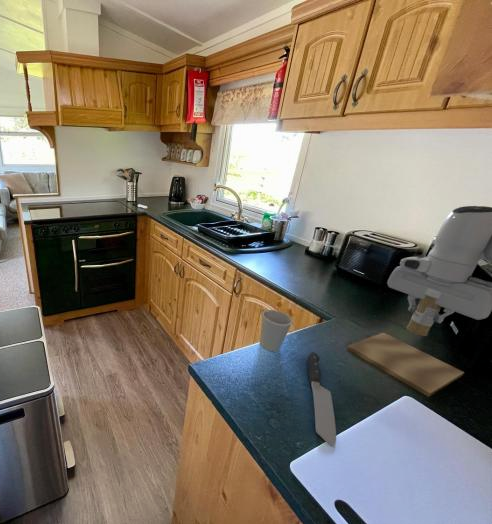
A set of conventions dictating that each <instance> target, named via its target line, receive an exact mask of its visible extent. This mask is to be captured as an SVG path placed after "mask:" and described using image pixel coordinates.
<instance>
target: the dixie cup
mask: <svg viewBox="0 0 492 524" xmlns="http://www.w3.org/2000/svg"><path fill="white" fill-rule="evenodd" d="M293 324H294V320H293V318H292V317H291V316H289V315H288V314H286V313H285V312H282V311H279V310H274V309H267V310H263V311H262V312H261V327H260V337H259V345H260V346H261V348H263V349H264V350H266V351H269V352H278V351H280V349H281V347H282V345H283V342H284V341H285V339H286V337H287V334H288V332H289V330H290V328H291V326H292V325H293Z"/></svg>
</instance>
